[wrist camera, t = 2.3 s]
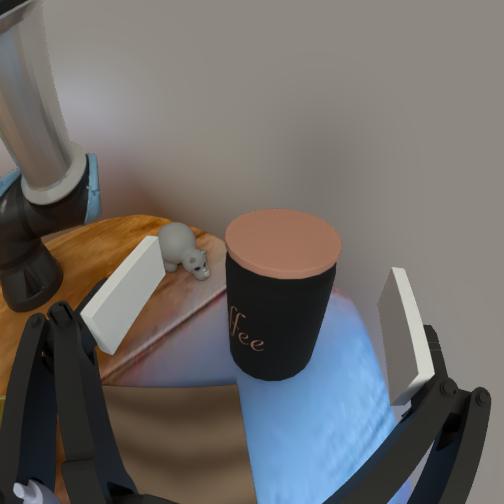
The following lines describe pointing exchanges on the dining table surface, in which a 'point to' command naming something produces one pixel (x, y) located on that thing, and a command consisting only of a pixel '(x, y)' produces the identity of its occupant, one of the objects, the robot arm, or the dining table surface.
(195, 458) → the walnut board
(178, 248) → the chubby cartoon animal
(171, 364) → the dining table surface
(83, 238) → the dining table surface
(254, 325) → the coffee jar
